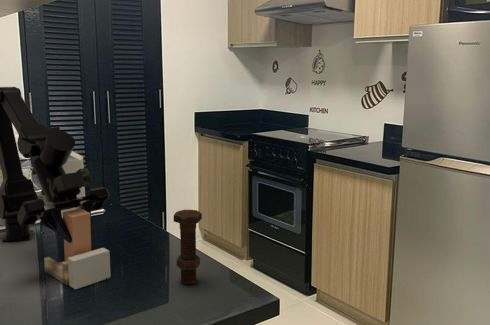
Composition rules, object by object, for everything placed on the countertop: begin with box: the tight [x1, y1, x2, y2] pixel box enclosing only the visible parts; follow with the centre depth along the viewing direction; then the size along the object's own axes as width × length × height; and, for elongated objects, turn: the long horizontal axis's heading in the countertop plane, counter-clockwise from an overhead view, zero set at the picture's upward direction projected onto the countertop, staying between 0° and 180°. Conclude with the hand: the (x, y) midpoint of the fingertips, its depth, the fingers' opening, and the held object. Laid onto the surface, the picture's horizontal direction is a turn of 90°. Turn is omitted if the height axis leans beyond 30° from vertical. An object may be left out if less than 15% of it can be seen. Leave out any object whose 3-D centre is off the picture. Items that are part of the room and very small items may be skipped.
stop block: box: [68, 247, 111, 290], centre depth 98 cm, size 2×8×6 cm, turn 137°
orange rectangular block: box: [63, 208, 92, 262], centre depth 100 cm, size 4×4×12 cm
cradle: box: [43, 256, 69, 286], centre depth 103 cm, size 10×9×4 cm
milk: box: [61, 150, 86, 218], centre depth 134 cm, size 6×6×22 cm
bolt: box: [173, 209, 203, 285], centre depth 98 cm, size 6×5×15 cm
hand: (80, 239), depth 99 cm, fingers closed on orange rectangular block, 4 cm apart
